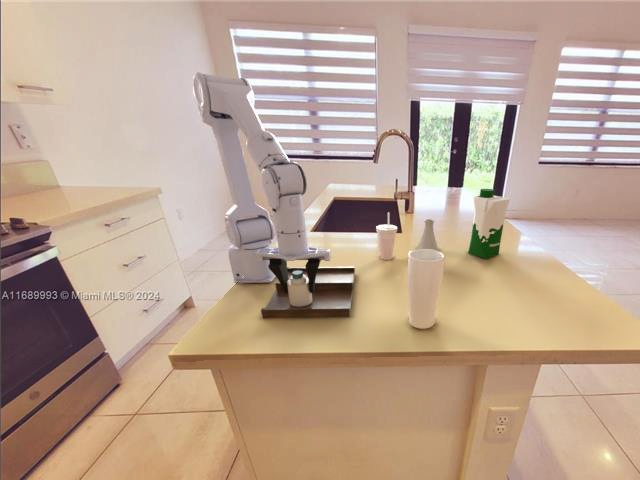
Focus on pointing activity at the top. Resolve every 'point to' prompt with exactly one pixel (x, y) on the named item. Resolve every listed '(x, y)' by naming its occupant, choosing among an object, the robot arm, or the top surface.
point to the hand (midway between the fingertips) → (299, 291)
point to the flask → (428, 237)
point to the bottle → (299, 289)
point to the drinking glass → (424, 286)
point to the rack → (317, 295)
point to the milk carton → (487, 224)
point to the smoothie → (386, 239)
